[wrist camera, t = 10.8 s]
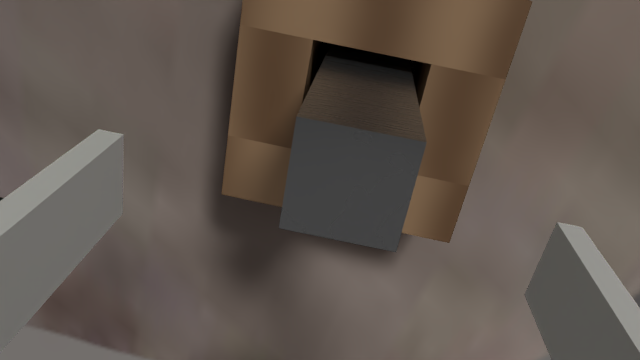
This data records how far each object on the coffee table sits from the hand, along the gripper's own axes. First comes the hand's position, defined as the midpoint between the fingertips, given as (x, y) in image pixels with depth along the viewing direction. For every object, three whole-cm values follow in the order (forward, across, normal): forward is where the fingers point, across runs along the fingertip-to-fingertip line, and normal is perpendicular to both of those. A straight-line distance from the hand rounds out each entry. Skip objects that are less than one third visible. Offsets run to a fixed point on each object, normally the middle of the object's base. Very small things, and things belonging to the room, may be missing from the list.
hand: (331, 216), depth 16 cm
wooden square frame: (+18, +1, 0) cm, 18 cm away
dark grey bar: (+18, +1, 0) cm, 18 cm away
